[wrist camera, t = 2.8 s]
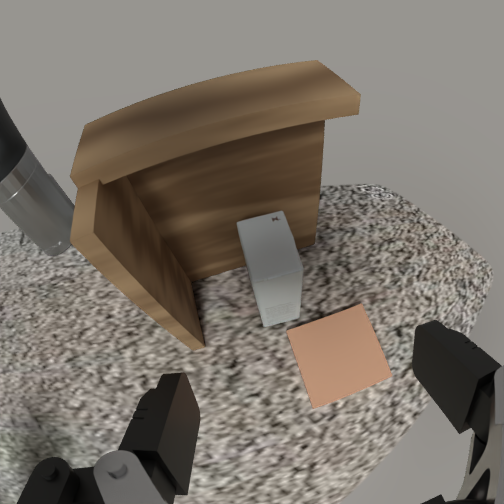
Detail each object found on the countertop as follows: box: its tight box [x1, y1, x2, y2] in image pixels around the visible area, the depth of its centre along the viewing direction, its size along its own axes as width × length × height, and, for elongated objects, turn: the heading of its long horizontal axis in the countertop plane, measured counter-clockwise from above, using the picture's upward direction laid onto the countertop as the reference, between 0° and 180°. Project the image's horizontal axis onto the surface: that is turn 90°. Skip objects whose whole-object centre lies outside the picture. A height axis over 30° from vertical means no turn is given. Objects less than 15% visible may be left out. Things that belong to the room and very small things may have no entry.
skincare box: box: [237, 211, 304, 327], centre depth 28 cm, size 6×4×12 cm
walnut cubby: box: [70, 60, 361, 350], centre depth 25 cm, size 10×18×23 cm, turn 106°
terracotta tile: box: [286, 304, 392, 409], centre depth 29 cm, size 9×9×1 cm
